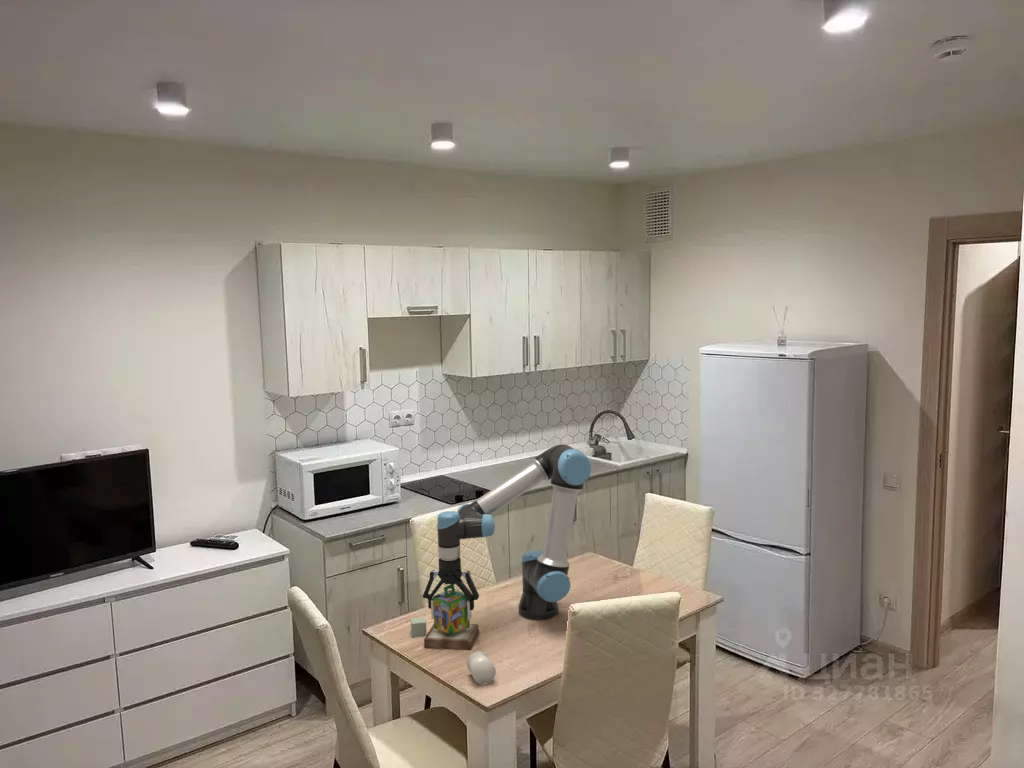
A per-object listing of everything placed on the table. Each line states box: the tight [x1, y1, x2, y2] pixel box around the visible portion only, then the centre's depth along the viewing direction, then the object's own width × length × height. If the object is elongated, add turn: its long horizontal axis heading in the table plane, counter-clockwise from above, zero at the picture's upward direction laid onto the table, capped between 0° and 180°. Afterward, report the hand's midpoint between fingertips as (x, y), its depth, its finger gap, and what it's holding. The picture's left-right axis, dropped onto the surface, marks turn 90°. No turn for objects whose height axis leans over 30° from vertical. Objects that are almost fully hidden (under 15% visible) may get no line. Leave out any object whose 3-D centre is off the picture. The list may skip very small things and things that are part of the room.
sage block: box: [410, 616, 428, 638], centre depth 266 cm, size 5×5×5 cm
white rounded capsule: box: [466, 650, 497, 685], centre depth 232 cm, size 7×7×8 cm
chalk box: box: [433, 584, 471, 635], centre depth 259 cm, size 9×9×15 cm
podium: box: [423, 623, 480, 651], centre depth 260 cm, size 16×14×3 cm
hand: (451, 618), depth 259 cm, fingers closed on chalk box, 12 cm apart
